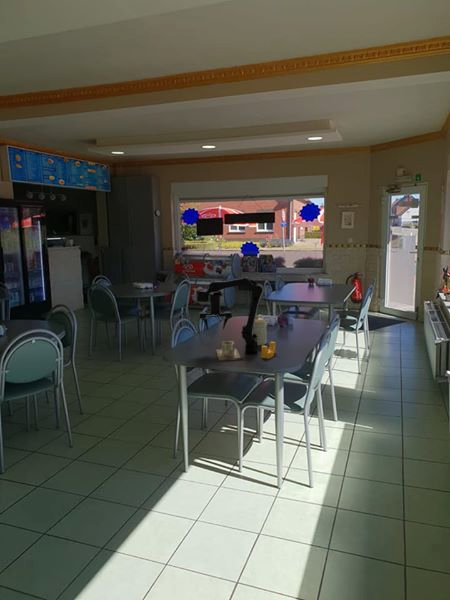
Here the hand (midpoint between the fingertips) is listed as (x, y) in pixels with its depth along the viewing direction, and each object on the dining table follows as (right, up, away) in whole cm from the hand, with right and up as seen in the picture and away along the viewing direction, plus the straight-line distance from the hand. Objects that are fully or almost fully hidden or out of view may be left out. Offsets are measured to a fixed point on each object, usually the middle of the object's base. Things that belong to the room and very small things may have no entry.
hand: (215, 329), depth 270 cm
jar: (+25, -10, +16) cm, 31 cm away
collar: (+7, -13, -10) cm, 18 cm away
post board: (+7, -14, -10) cm, 19 cm away
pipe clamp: (+31, -14, -10) cm, 35 cm away
